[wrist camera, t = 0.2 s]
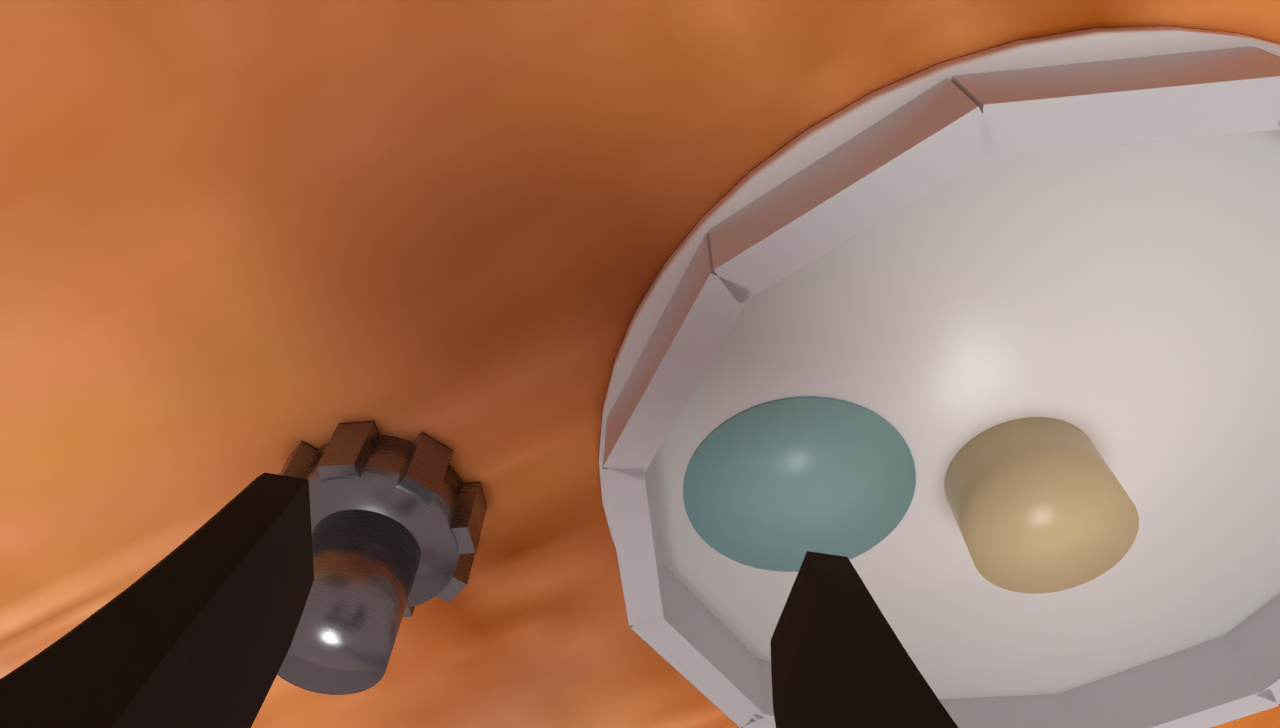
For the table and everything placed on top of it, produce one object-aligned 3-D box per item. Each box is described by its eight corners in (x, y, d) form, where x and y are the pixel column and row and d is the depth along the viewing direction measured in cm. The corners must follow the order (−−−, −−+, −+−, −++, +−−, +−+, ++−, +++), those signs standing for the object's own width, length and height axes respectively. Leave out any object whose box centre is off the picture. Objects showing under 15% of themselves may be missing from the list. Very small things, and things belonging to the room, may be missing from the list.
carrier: (1306, 693, 29) (1368, 777, 26) (643, 722, 30) (642, 804, 28) (1706, -35, 16) (1898, -6, 14) (534, 85, 18) (514, 129, 15)
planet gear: (503, 563, 26) (469, 723, 22) (321, 573, 27) (250, 733, 22) (461, 413, 23) (412, 564, 18) (254, 428, 23) (155, 579, 19)
